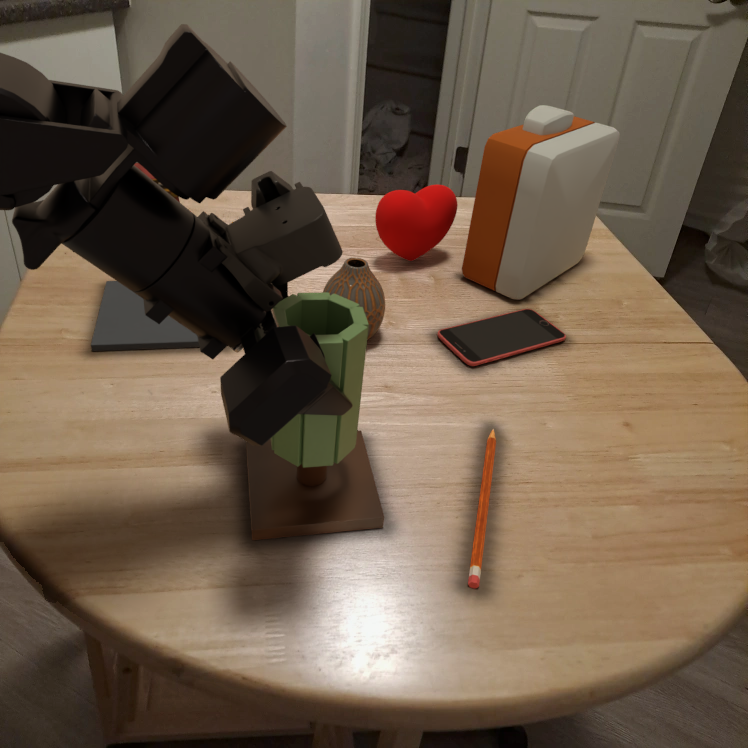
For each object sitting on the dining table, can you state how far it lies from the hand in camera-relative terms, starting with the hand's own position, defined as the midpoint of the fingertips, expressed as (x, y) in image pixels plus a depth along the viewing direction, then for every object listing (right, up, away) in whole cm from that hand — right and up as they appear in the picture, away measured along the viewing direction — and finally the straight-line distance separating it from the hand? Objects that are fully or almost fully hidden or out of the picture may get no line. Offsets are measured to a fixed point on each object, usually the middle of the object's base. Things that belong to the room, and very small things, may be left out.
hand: (334, 380), depth 48 cm
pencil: (+12, -10, +7) cm, 17 cm away
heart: (+8, +15, +40) cm, 44 cm away
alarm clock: (+23, +14, +41) cm, 49 cm away
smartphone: (+17, +4, +27) cm, 32 cm away
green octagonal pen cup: (-2, -4, +3) cm, 6 cm away
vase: (0, +5, +25) cm, 25 cm away
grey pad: (-20, +7, +24) cm, 32 cm away
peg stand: (-2, -9, +6) cm, 11 cm away
